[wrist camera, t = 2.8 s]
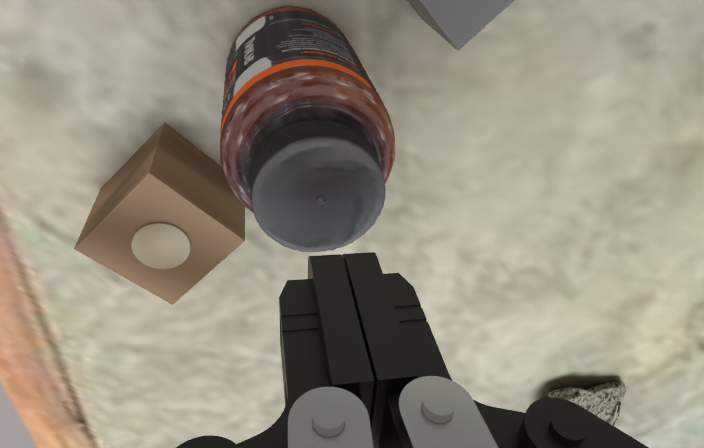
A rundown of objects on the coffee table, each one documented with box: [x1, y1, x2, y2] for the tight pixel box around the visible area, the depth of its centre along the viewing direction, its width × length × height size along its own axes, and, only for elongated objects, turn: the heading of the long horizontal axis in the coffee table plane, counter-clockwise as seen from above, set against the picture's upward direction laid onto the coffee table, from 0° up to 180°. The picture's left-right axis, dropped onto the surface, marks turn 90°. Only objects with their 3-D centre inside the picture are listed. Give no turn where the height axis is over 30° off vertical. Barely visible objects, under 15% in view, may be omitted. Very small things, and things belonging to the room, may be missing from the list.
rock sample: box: [547, 381, 626, 426], centre depth 43 cm, size 10×8×9 cm
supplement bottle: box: [220, 8, 395, 252], centre depth 20 cm, size 6×6×11 cm
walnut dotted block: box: [74, 123, 245, 305], centre depth 25 cm, size 5×5×5 cm
